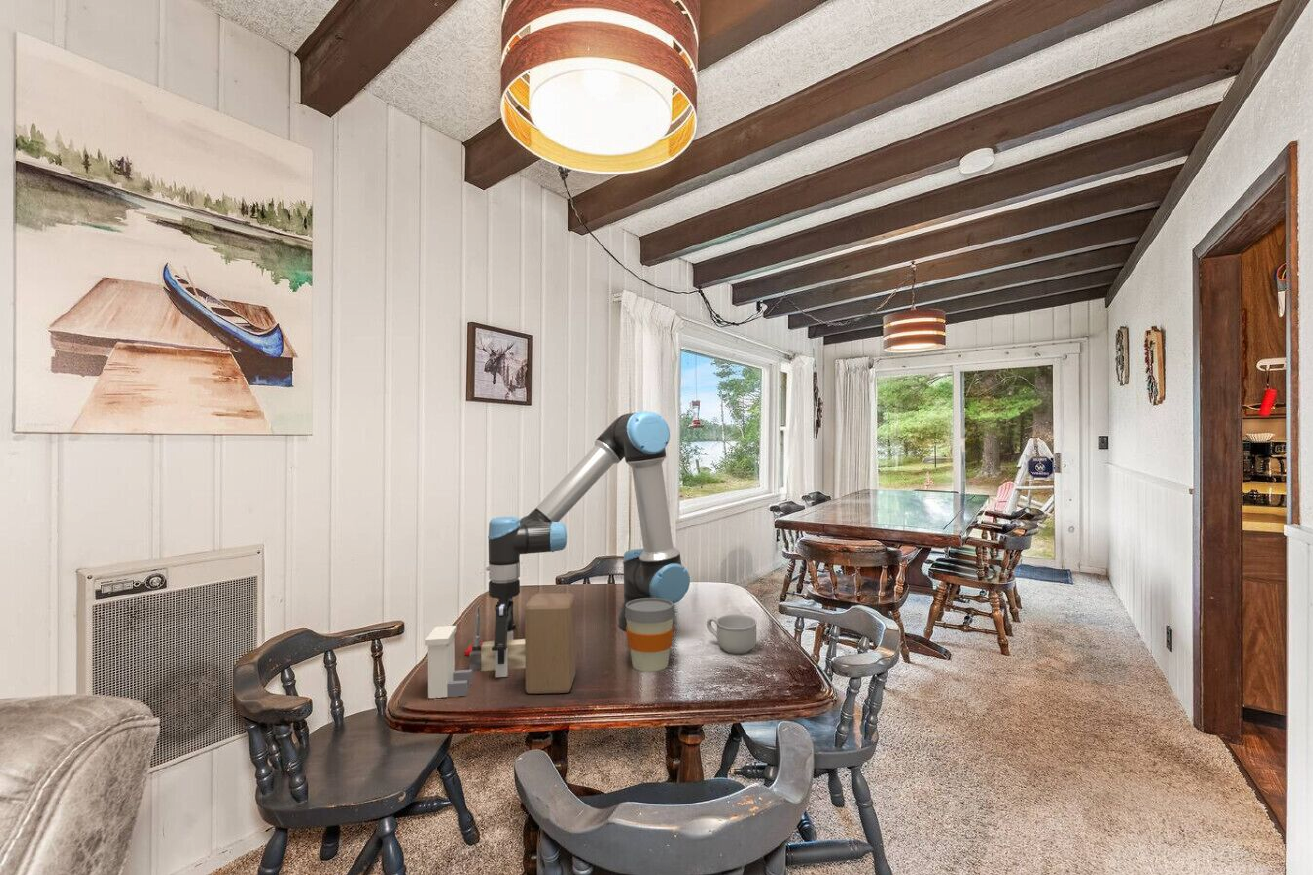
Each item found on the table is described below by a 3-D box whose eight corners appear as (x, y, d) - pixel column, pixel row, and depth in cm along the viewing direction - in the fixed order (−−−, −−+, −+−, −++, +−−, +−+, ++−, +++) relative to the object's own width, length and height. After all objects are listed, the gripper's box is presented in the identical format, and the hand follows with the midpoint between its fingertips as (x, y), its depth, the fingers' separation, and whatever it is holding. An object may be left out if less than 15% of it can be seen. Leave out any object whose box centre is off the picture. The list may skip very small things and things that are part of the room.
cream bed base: (472, 681, 132) (472, 624, 132) (465, 697, 123) (465, 637, 123) (435, 683, 131) (435, 626, 131) (425, 700, 122) (425, 639, 122)
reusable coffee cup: (618, 659, 144) (617, 601, 144) (663, 652, 149) (662, 595, 149) (636, 678, 132) (635, 614, 132) (684, 669, 137) (683, 607, 137)
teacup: (764, 649, 150) (764, 619, 150) (741, 661, 142) (741, 629, 142) (722, 637, 159) (722, 609, 159) (698, 647, 151) (698, 618, 152)
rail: (528, 662, 143) (528, 638, 143) (527, 667, 139) (526, 643, 139) (471, 666, 141) (471, 642, 141) (468, 671, 137) (468, 647, 137)
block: (575, 675, 134) (574, 592, 134) (570, 694, 124) (569, 603, 124) (533, 676, 134) (533, 592, 134) (524, 695, 124) (524, 604, 124)
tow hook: (477, 645, 157) (460, 656, 148) (477, 598, 158) (461, 606, 148) (505, 646, 156) (490, 657, 146) (506, 599, 156) (491, 607, 147)
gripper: (495, 569, 152) (496, 649, 152) (480, 592, 128) (481, 687, 128) (524, 568, 153) (524, 647, 153) (514, 591, 129) (515, 685, 129)
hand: (504, 666), depth 140 cm, fingers open, 12 cm apart
